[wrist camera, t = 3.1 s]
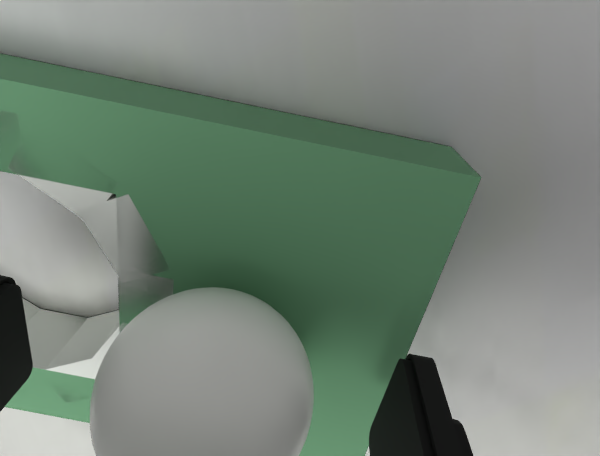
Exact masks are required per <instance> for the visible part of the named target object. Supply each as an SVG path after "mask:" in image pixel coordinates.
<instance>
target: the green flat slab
mask: <svg viewBox="0 0 600 456" xmlns="http://www.w3.org/2000/svg"><path fill="white" fill-rule="evenodd" d="M0 171H3V172H8V173H13V174H17V175H18V176H20V177H21V178H23V179H24V180H26V181H27V182H29V183H30V184H31V185H33V186H34V187H36V188H37V189H39V190H40V191H42V192H43V193H45V194H46V195H47V196H49V197H50V198H52V199H53V200H55V201H56V202H58V203H59V204H61V205H62V206H63V207H65V208H66V209H68V210H69V211H71V212H72V213H74V214H75V215H77V216H78V217H79V218H81V219H82V220H83V222H84V223H85V225H86V226H87V228H88V229H89V231H90V232H91V234H92V236H93V237H94V239H95V240H96V242H97V243H98V245H99V247H100V248H101V250H102V251H103V253H104V254H105V256H106V258H107V259H108V261H109V262H110V264H111V265H112V267H113V269H114V270H115V272H116V273H117V275H118V287H119V310H117V311H113V312H109V313H105V314H101V315H98V316H94V317H90V318H85V317H80V316H74V315H69V314H64V313H59V312H54V311H49V310H44V309H40V308H38V307H36V306H35V305H33V304H31V303H30V302H28V301H27V300H25V299H23V298H22V300H23V306H24V312H25V318H26V325H27V331H28V337H29V343H30V349H31V355H32V362H33V368H32V372H31V374H30V376H29V378H28V379H27V381H26V382H25V383H24V384H23V385H22V387H21V388H20V389H19V390H18V391H17V393H16V394H15V395H14V396H13V397H12V398H11V400H10V401H9V402H8V403H7V404H6V406H5V407H8V408H13V409H19V410H24V411H29V412H35V413H40V414H45V415H50V416H56V417H61V418H66V419H72V420H77V421H82V422H88V423H90V400H91V396H92V391H93V386H94V382H95V378H96V375H97V373H98V370H99V367H100V365H101V363H102V360H103V358H104V356H105V354H106V353H107V351H108V349H109V348H110V346H111V344H112V343H113V342H114V340H115V339H116V337H117V336H118V335H119V334H120V332H121V331H122V330H123V329H124V327H125V326H126V325H128V324H129V323H130V322H131V321H132V320H133V319H134V318H135V317H136V316H137V315H138V314H139V313H141V312H142V311H144V310H145V309H146V308H148V307H149V306H151V305H153V304H154V303H156V302H157V301H159V300H161V299H164V298H166V297H168V296H170V295H173V294H176V293H179V292H182V291H185V290H190V289H195V288H208V287H218V288H228V289H233V290H237V291H241V292H244V293H247V294H250V295H252V296H254V297H256V298H258V299H260V300H262V301H264V302H265V303H267V304H268V305H270V306H271V307H272V308H273V309H275V310H276V311H277V312H278V313H279V314H281V315H282V316H283V317H284V318H285V319H286V321H287V322H288V323H289V324H290V325H291V327H292V328H293V330H294V331H295V332H296V334H297V335H298V337H299V339H300V341H301V343H302V344H303V347H304V349H305V352H306V354H307V357H308V360H309V363H310V367H311V372H312V378H313V387H314V405H313V413H312V419H311V424H310V428H309V431H308V435H307V438H306V441H305V443H304V445H303V448H302V450H301V452H300V454H299V456H365V453H366V451H367V449H368V446H369V432H370V428H371V425H372V423H373V420H374V418H375V416H376V413H377V411H378V408H379V406H380V403H381V401H382V399H383V396H384V394H385V391H386V389H387V386H388V384H389V382H390V379H391V377H392V374H393V372H394V369H395V367H396V365H397V362H398V360H399V359H400V358H401V359H405V358H406V356H407V353H408V351H409V349H410V346H411V344H412V341H413V339H414V337H415V334H416V332H417V330H418V327H419V325H420V322H421V320H422V318H423V315H424V313H425V311H426V308H427V306H428V303H429V301H430V299H431V296H432V294H433V291H434V289H435V287H436V284H437V282H438V280H439V277H440V275H441V272H442V270H443V268H444V265H445V263H446V260H447V258H448V256H449V253H450V251H451V249H452V246H453V244H454V241H455V239H456V237H457V234H458V232H459V230H460V227H461V225H462V222H463V220H464V218H465V215H466V213H467V210H468V208H469V206H470V203H471V201H472V199H473V196H474V194H475V191H476V189H477V187H478V184H479V182H480V179H481V177H480V176H479V175H478V174H477V173H476V172H475V171H474V170H473V168H472V167H471V166H470V165H469V164H468V163H467V162H466V161H465V160H464V159H463V158H462V157H461V156H460V155H459V154H458V153H457V152H456V151H455V150H454V149H453V148H452V147H450V146H445V145H440V144H435V143H430V142H426V141H421V140H416V139H411V138H406V137H401V136H397V135H392V134H387V133H382V132H377V131H372V130H368V129H363V128H358V127H353V126H348V125H344V124H339V123H334V122H329V121H324V120H319V119H315V118H310V117H305V116H300V115H295V114H290V113H286V112H281V111H276V110H271V109H266V108H261V107H257V106H252V105H247V104H242V103H237V102H232V101H228V100H223V99H218V98H213V97H208V96H203V95H199V94H194V93H189V92H184V91H179V90H174V89H170V88H165V87H160V86H155V85H150V84H145V83H141V82H136V81H131V80H126V79H121V78H116V77H112V76H107V75H102V74H97V73H92V72H87V71H83V70H78V69H73V68H68V67H63V66H58V65H54V64H49V63H44V62H39V61H34V60H29V59H25V58H20V57H15V56H10V55H5V54H0Z"/></svg>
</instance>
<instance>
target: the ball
mask: <svg viewBox="0 0 600 456" xmlns="http://www.w3.org/2000/svg"><path fill="white" fill-rule="evenodd" d="M313 405H314V387H313V378H312V372H311V367H310V363H309V360H308V357H307V354H306V352H305V349H304V347H303V344H302V343H301V341H300V339H299V337H298V335H297V334H296V332H295V331H294V330H293V328H292V327H291V325H290V324H289V323H288V322H287V321H286V319H285V318H284V317H283V316H282V315H281V314H279V313H278V312H277V311H276V310H275V309H273V308H272V307H271V306H270V305H268V304H267V303H265V302H264V301H262V300H260V299H258V298H256V297H254V296H252V295H250V294H247V293H244V292H241V291H237V290H233V289H228V288H218V287H208V288H195V289H190V290H185V291H182V292H179V293H176V294H173V295H170V296H168V297H166V298H164V299H161V300H159V301H157V302H156V303H154V304H153V305H151V306H149V307H148V308H146V309H145V310H144V311H142V312H141V313H139V314H138V315H137V316H136V317H135V318H134V319H133V320H132V321H131V322H130V323H129V324H128V325H126V326H125V327H124V329H123V330H122V331H121V332H120V334H119V335H118V336H117V337H116V339H115V340H114V342H113V343H112V344H111V346H110V348H109V349H108V351H107V353H106V354H105V356H104V358H103V360H102V363H101V365H100V367H99V370H98V373H97V375H96V378H95V382H94V386H93V391H92V396H91V400H90V430H91V438H92V443H93V447H94V450H95V453H96V456H299V454H300V452H301V450H302V448H303V445H304V443H305V441H306V438H307V435H308V431H309V428H310V424H311V419H312V413H313Z"/></svg>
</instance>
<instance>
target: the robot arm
mask: <svg viewBox="0 0 600 456" xmlns="http://www.w3.org/2000/svg"><path fill="white" fill-rule="evenodd" d="M32 368H33V362H32V355H31V349H30V343H29V337H28V331H27V325H26V318H25V312H24V306H23V300H22V294H21V289H20V287H19V286H18V285H16V283H15V281H14V280H13V278H10V277H6V276H1V275H0V411H1V410H2V409H3V408H4V407H5V406H6V404H7V403H8V402H9V401H10V400H11V398H12V397H13V396H14V395H15V394H16V393H17V391H18V390H19V389H20V388H21V387H22V385H23V384H24V383H25V382H26V381H27V379H28V378H29V376H30V374H31V372H32ZM369 449H370V456H473V453H472V450H471V447H470V444H469V441H468V438H467V435H466V432H465V430H464V428H463V425H462V424H461V423H460V422H459V421H458V420H455V419H452V416H451V413H450V410H449V407H448V403H447V400H446V397H445V394H444V390H443V387H442V384H441V381H440V377H439V374H438V371H437V368H436V365H435V362H434V360H433V359H432V358H428V357H423V356H418V355H413V354H408V355H407V357H406V358H405V359H401V358H400V359H399V360H398V362H397V365H396V367H395V369H394V372H393V374H392V377H391V379H390V382H389V384H388V386H387V389H386V391H385V394H384V396H383V399H382V401H381V403H380V406H379V408H378V411H377V413H376V416H375V418H374V420H373V423H372V425H371V428H370V432H369Z"/></svg>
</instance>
